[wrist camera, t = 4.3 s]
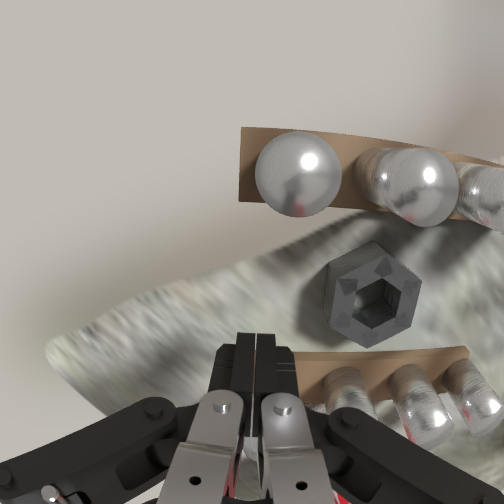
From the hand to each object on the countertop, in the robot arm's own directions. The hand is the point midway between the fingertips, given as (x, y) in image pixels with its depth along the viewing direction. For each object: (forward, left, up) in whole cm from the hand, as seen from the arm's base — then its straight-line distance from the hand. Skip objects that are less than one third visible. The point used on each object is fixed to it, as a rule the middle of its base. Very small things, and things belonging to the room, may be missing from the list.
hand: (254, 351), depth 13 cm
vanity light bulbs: (-8, 0, -7) cm, 11 cm away
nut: (-7, 0, -7) cm, 10 cm away
